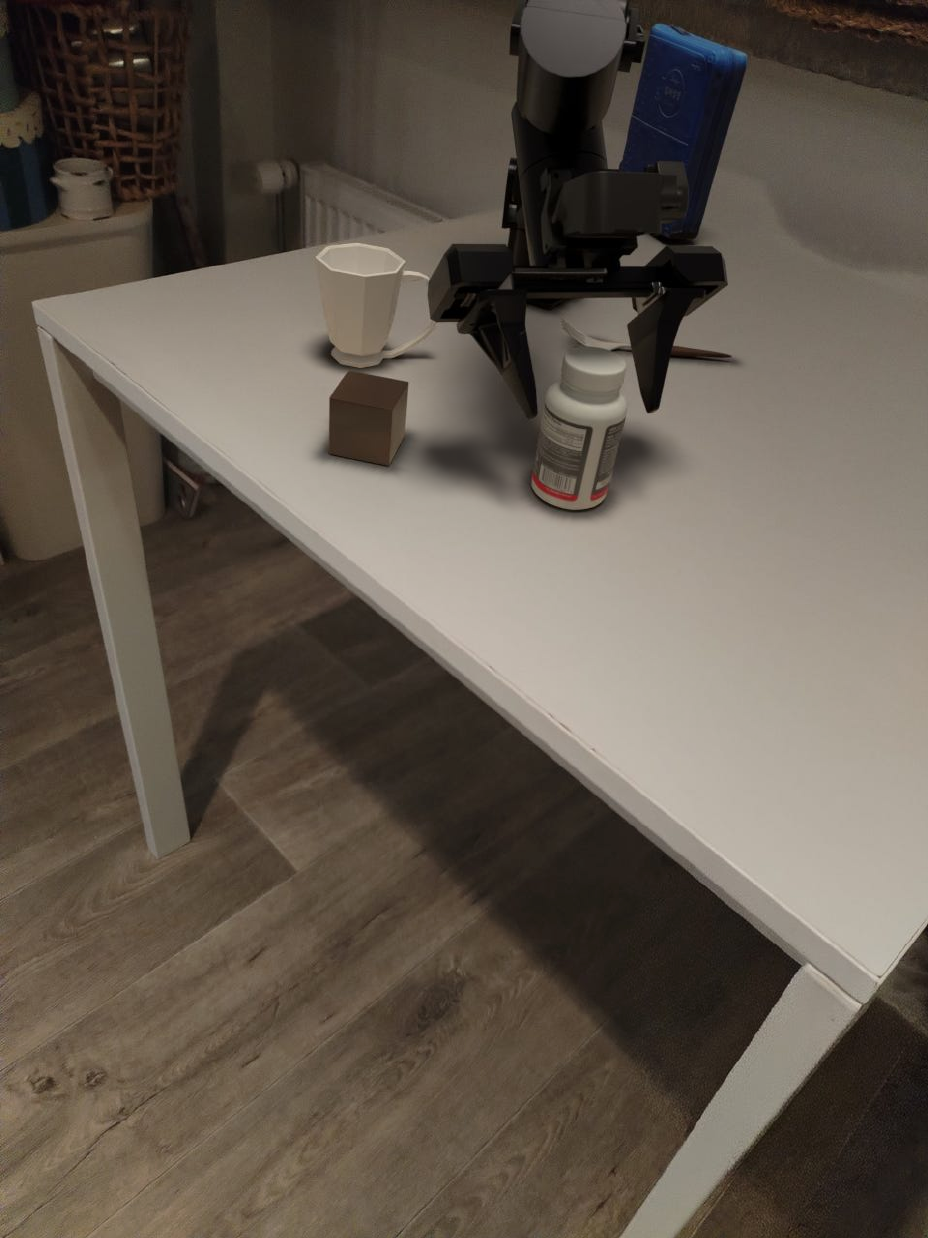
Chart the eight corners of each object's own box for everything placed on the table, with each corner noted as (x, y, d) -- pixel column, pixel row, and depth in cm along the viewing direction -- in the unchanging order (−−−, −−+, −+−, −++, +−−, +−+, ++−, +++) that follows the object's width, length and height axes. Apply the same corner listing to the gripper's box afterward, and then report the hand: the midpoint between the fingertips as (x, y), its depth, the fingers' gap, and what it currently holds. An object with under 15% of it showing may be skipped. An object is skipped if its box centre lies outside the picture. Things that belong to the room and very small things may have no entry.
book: (603, 205, 114) (641, 18, 101) (639, 205, 116) (680, 21, 103) (665, 247, 105) (715, 46, 92) (702, 245, 107) (756, 48, 94)
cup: (313, 336, 77) (312, 239, 72) (428, 339, 79) (436, 245, 74) (317, 374, 72) (317, 273, 67) (441, 376, 74) (450, 278, 69)
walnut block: (328, 454, 63) (328, 397, 61) (347, 424, 67) (348, 369, 64) (388, 466, 63) (392, 409, 60) (404, 436, 66) (408, 381, 64)
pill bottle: (585, 466, 66) (614, 338, 60) (619, 507, 62) (653, 376, 56) (517, 473, 64) (540, 342, 58) (548, 516, 61) (575, 382, 54)
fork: (733, 368, 82) (739, 347, 80) (558, 349, 81) (562, 327, 79) (727, 355, 84) (733, 334, 82) (556, 336, 83) (560, 315, 81)
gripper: (458, 90, 48) (494, 378, 48) (761, 108, 53) (796, 368, 53) (413, 198, 59) (441, 434, 58) (669, 204, 64) (697, 421, 63)
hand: (594, 414), depth 58 cm, fingers open, 8 cm apart
